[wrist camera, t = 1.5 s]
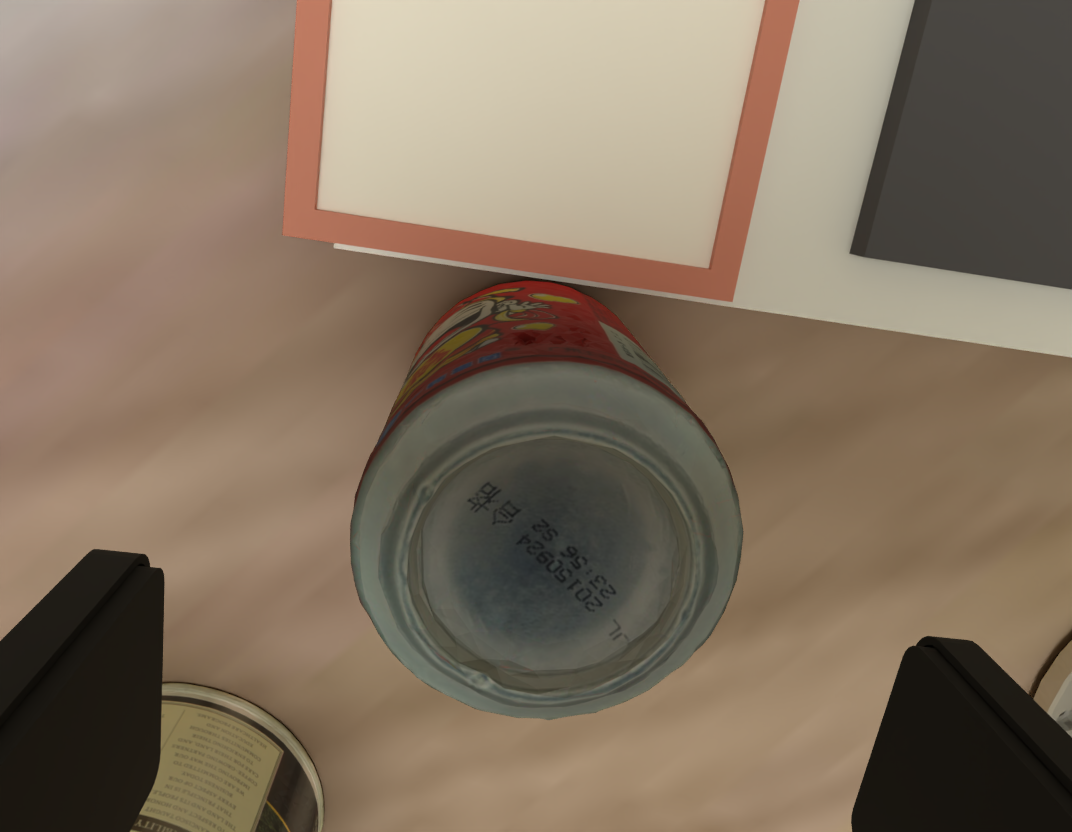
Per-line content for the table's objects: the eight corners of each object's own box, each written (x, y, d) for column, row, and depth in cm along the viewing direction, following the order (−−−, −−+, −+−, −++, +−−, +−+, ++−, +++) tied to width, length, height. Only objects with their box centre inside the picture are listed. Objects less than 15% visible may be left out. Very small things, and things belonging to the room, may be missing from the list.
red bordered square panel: (839, -207, 20) (847, -216, 20) (727, 299, 24) (732, 302, 23) (321, -314, 19) (317, -326, 18) (287, 233, 23) (282, 234, 22)
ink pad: (1261, -37, 22) (1296, -46, 21) (1138, 298, 24) (1165, 303, 23) (940, -100, 21) (962, -113, 20) (849, 253, 23) (864, 257, 22)
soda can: (507, 221, 24) (518, 278, 12) (685, 367, 25) (846, 542, 14) (365, 403, 25) (253, 610, 14) (542, 530, 27) (577, 815, 15)
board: (1268, -104, 22) (1309, -118, 21) (1102, 357, 26) (1130, 366, 25) (385, -286, 20) (378, -313, 19) (341, 244, 24) (333, 247, 23)
